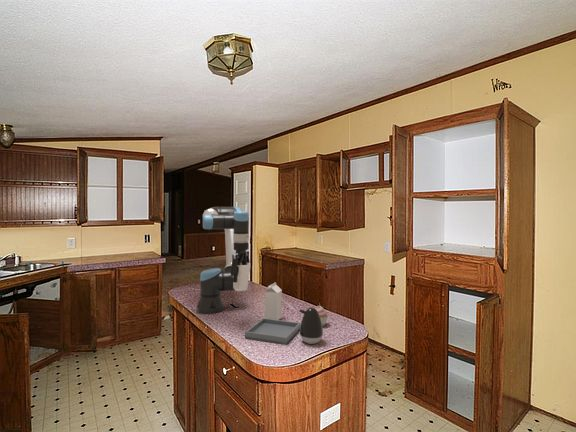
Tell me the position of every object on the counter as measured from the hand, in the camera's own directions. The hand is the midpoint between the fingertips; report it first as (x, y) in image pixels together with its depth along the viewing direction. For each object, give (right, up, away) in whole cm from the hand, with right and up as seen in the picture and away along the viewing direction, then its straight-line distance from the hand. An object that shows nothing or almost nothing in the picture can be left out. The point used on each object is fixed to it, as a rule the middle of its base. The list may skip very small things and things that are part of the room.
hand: (240, 286), depth 166 cm
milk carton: (+16, -20, +9) cm, 27 cm away
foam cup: (0, -2, 0) cm, 2 cm away
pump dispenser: (+34, -20, -20) cm, 45 cm away
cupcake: (+40, -20, +1) cm, 44 cm away
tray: (+17, -20, -11) cm, 29 cm away
